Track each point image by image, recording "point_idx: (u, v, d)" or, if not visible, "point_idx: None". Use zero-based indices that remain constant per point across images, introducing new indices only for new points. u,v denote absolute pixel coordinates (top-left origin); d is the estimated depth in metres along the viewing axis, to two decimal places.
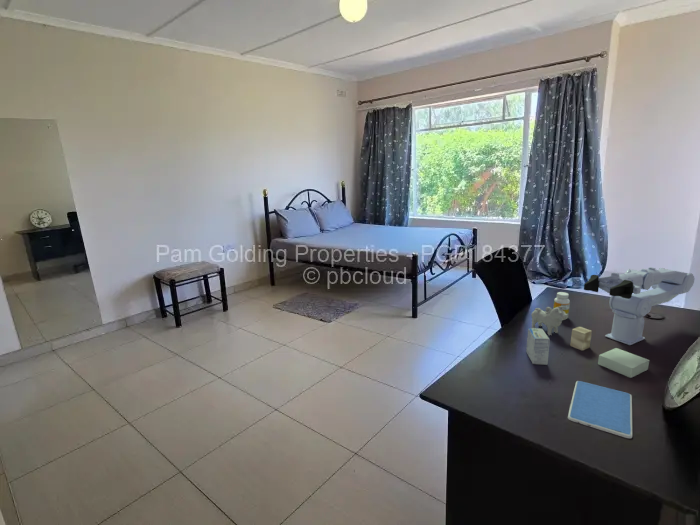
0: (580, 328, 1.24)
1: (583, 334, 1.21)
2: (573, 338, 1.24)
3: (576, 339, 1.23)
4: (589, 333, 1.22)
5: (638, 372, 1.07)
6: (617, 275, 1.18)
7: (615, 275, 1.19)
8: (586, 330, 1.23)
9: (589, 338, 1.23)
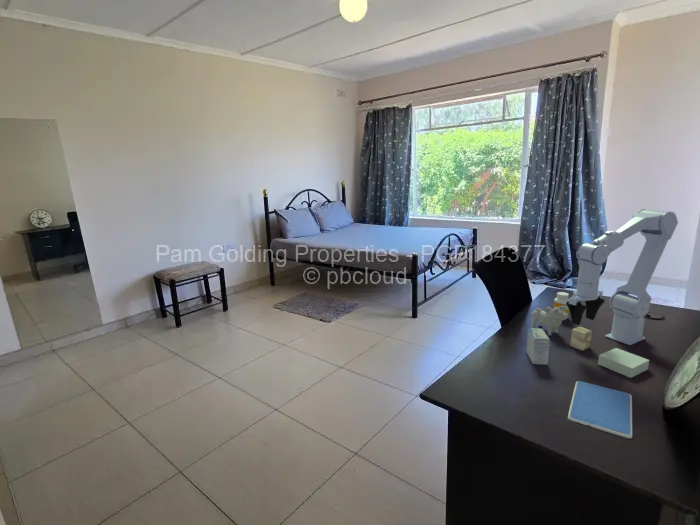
0: (580, 328, 1.24)
1: (583, 334, 1.21)
2: (573, 338, 1.24)
3: (576, 339, 1.23)
4: (589, 333, 1.22)
5: (638, 372, 1.07)
6: (574, 293, 1.23)
7: None
8: (586, 330, 1.23)
9: (589, 338, 1.23)
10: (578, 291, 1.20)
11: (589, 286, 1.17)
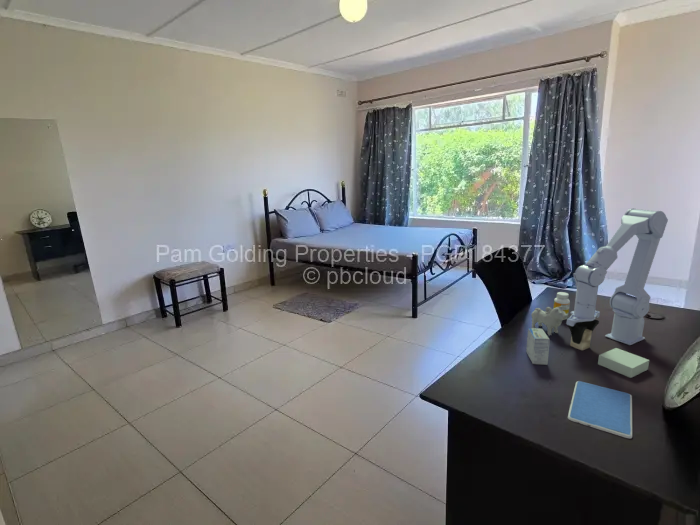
0: None
1: (583, 334, 1.21)
2: None
3: None
4: (589, 333, 1.22)
5: (638, 372, 1.07)
6: None
7: None
8: (586, 330, 1.23)
9: (589, 338, 1.23)
10: (575, 312, 1.22)
11: (586, 307, 1.19)
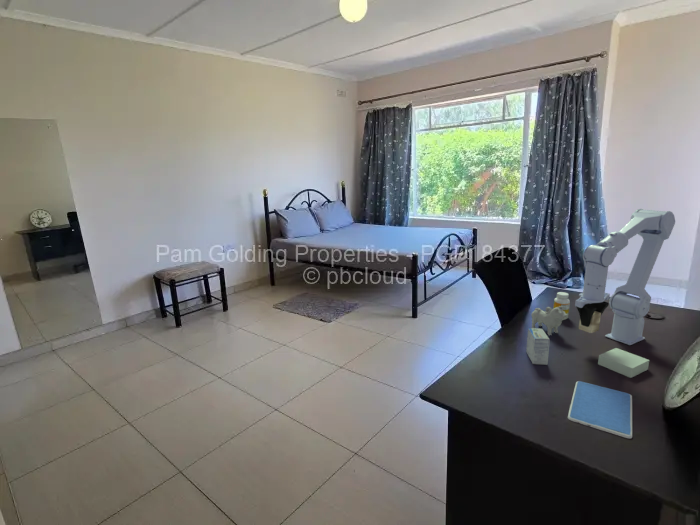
0: None
1: (592, 316, 1.17)
2: None
3: None
4: (598, 315, 1.18)
5: (638, 372, 1.07)
6: (580, 296, 1.21)
7: None
8: (595, 312, 1.19)
9: (598, 320, 1.19)
10: (584, 294, 1.18)
11: (596, 288, 1.15)
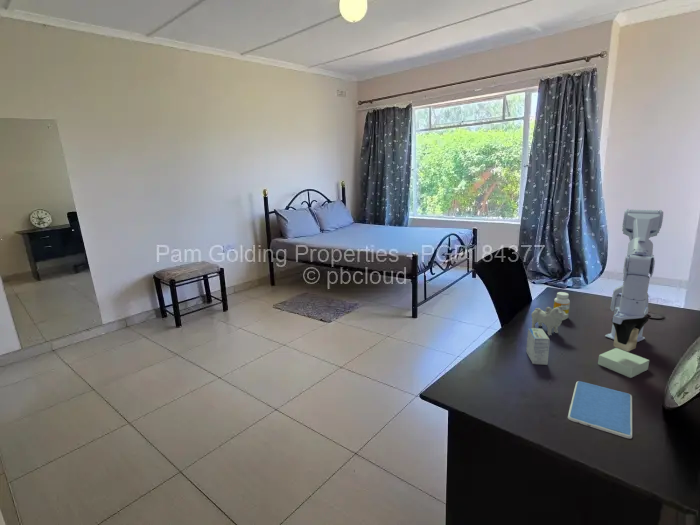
0: None
1: None
2: None
3: None
4: (636, 332, 1.08)
5: (638, 372, 1.07)
6: (616, 310, 1.10)
7: None
8: None
9: (636, 337, 1.08)
10: (622, 308, 1.07)
11: (636, 303, 1.04)
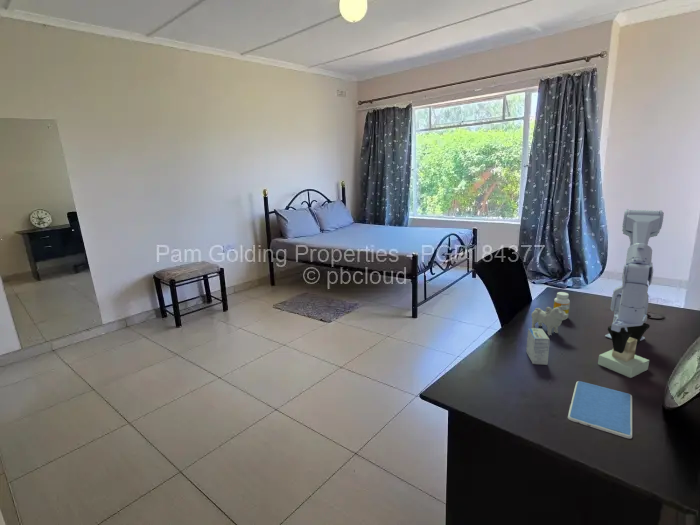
0: None
1: (628, 343, 1.07)
2: None
3: None
4: (634, 342, 1.09)
5: (638, 372, 1.07)
6: (615, 318, 1.11)
7: None
8: (631, 339, 1.09)
9: (634, 348, 1.09)
10: (620, 316, 1.08)
11: (634, 311, 1.05)
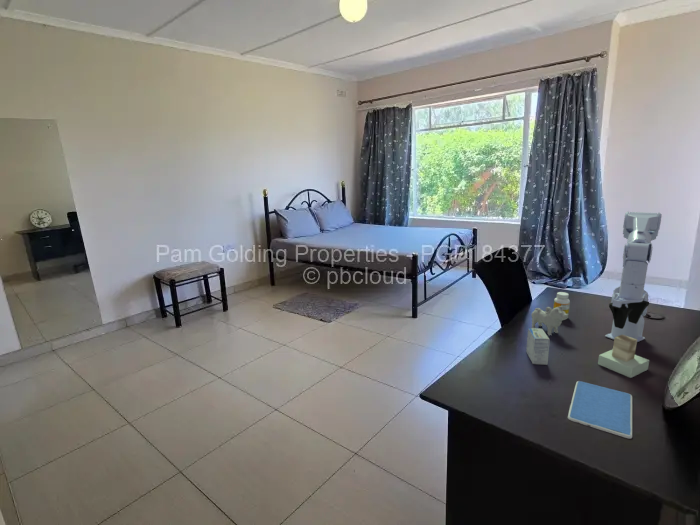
0: (623, 336, 1.11)
1: (628, 343, 1.07)
2: (616, 347, 1.11)
3: (619, 349, 1.10)
4: (634, 342, 1.09)
5: (638, 372, 1.07)
6: (616, 295, 1.16)
7: None
8: (631, 339, 1.09)
9: (634, 348, 1.09)
10: (621, 293, 1.13)
11: (634, 287, 1.10)
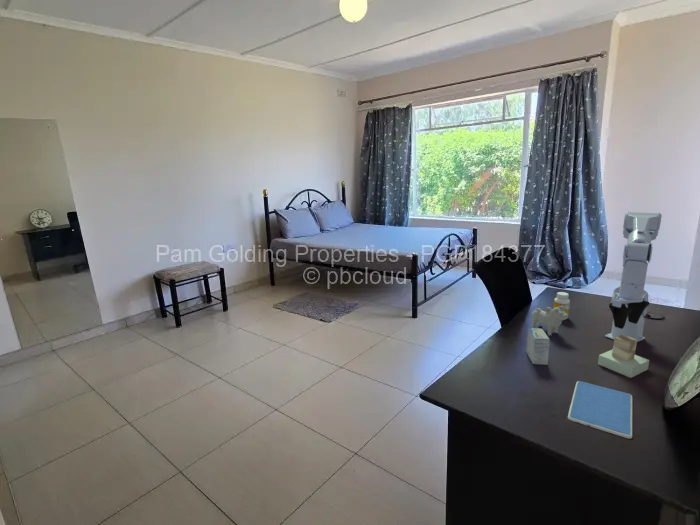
0: (623, 336, 1.11)
1: (628, 343, 1.07)
2: (616, 347, 1.11)
3: (619, 349, 1.10)
4: (634, 342, 1.09)
5: (638, 372, 1.07)
6: (616, 295, 1.16)
7: None
8: (631, 339, 1.09)
9: (634, 348, 1.09)
10: (621, 293, 1.13)
11: (634, 287, 1.10)
